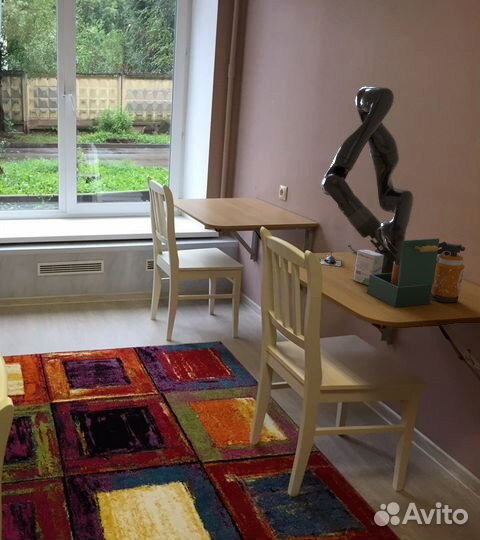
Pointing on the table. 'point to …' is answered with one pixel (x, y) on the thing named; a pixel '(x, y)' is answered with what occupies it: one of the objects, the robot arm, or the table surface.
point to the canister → (448, 273)
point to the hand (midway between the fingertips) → (394, 257)
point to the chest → (398, 291)
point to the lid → (418, 262)
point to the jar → (395, 272)
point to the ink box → (367, 265)
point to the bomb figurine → (330, 261)
